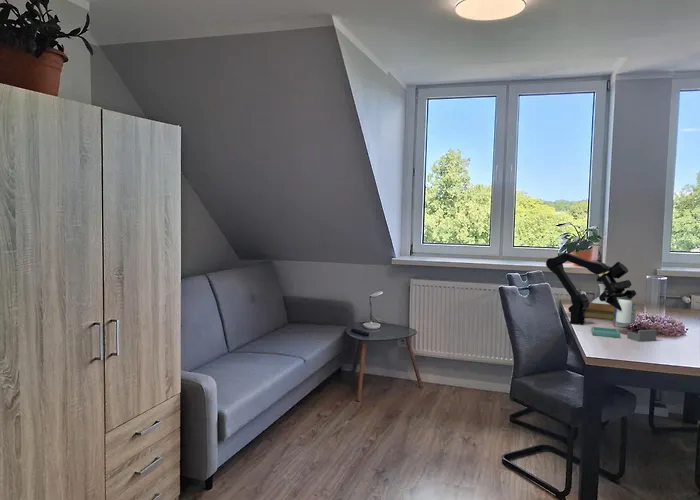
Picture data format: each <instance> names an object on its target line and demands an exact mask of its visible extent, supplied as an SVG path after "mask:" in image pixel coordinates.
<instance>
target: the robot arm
mask: <svg viewBox="0 0 700 500" xmlns="http://www.w3.org/2000/svg"><path fill="white" fill-rule="evenodd" d="M567 262H568V263H572V264H575V265H578V266H580V267H583V268H584V269H587V271H588V272H591V273H592V274H594V275H598V276H597V278H596V282H600V283H602V284H604V285H605V289H604V292H603V293H602V294H601V295H600V294H599V296H598V297H599V299H600V301H605V302H606V303H609V304H611V305H612V306H614V307H615V308H617V309H618V310H620V311H621V310H622V308H621V306H620V304H619V302H618V298H620V297H624V298H630V299H631V300H632V299H633V298H634V297H635V296H636V295H637V292H636V290H635V289H629V288H631V287H632V282H631V280H630V279H627V280H621V281H617V280H616V279H618V280H619V279H621V277H624V275H626V274H628V273H629V269H628V267H627V266H626V265H624V264H623V263H621V262H620V261H617V262H616V263H615V264H614V265H612V266H609V265H607V264H606V263H604V262H600V261H593V260H589V259H586V258H584V257H580V256H578V255H574V254H572V253H570V252H564V253H562V254H560V255H557V256H555V257H550V258H547V260H546V262H545V266H546V268H547V269H548V270H549V271H551V273H554V275H556V277H557V279H558V280H559V281H560V282H561V284H562V285H563V287H564V289H565V290H566V292H567V293H568V295H569V296H570V302H571V305H570V306H569V307H568V312H569V313H570V319H569V324H573V325H582V326H583V325H584V324H585V315H584V312H585V311H586V309H587V308H588V307H589V303H590V302H589V298H587V295H586V294H585V293H580V292H579V290H578V289H577V287H576V286H575V284H574V283H573V282H572V280H571V279H570V277H569V276H568V274H567V273H566V272H565V271H566V270H565V269H564V264H565V263H567ZM605 272H608V273H606V274H605ZM599 274H603V275H602V276H599ZM626 289H627V290H626ZM625 290H626V291H625ZM606 299H607V300H606Z"/></svg>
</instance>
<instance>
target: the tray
mask: <svg viewBox="0 0 700 500" xmlns="http://www.w3.org/2000/svg"><path fill="white" fill-rule="evenodd" d="M591 334H592V336H593V337H594V336H595V337H605V338H615V339H620V332H619V330H618V328H610V327H609V328H608V327H600V326H591Z"/></svg>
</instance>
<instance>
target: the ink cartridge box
mask: <svg viewBox="0 0 700 500" xmlns="http://www.w3.org/2000/svg"><path fill="white" fill-rule="evenodd" d="M636 312H637V304H635V302H632V311H631V323H629V324H622V323H618V322H617V321H616V313H617V308H615V307H614V317H613V320H612V321H613V322H612V325H613V326H614V327H615V328H616V327H619V328H627V327H626V326H628V325H630V324H632V323H635V324H636V315H637V314H636Z"/></svg>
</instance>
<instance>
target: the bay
mask: <svg viewBox="0 0 700 500" xmlns="http://www.w3.org/2000/svg"><path fill="white" fill-rule="evenodd" d="M626 338H627V339H628V340H633V341H636V342H639V343H640V342H653V341H657V329H642V330H641V329H640V330H639V329H638V330H637V333H634V332H631V331H627V337H626Z"/></svg>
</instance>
